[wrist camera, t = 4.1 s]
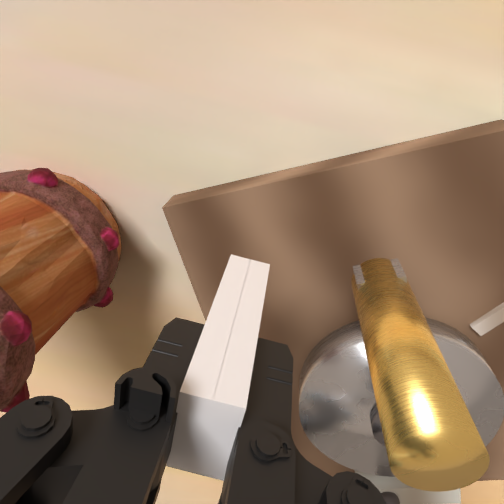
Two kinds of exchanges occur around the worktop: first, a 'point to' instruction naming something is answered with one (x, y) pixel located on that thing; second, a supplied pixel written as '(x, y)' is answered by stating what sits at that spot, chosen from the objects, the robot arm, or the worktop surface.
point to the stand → (363, 252)
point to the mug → (48, 266)
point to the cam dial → (400, 390)
